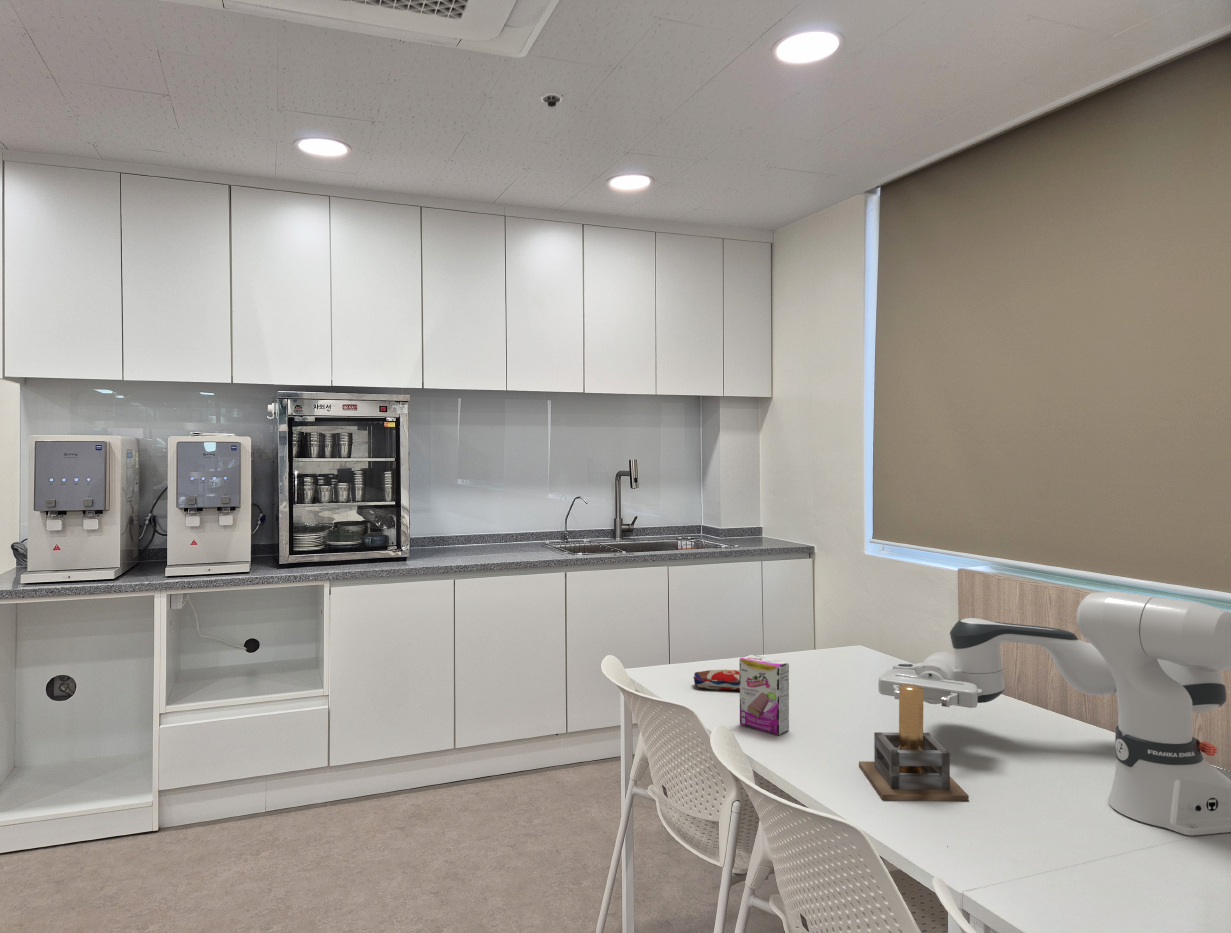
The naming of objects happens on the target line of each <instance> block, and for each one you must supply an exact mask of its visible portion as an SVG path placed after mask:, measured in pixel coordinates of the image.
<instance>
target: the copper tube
mask: <svg viewBox="0 0 1231 933" xmlns="http://www.w3.org/2000/svg"><path fill="white" fill-rule="evenodd" d="M898 733H899V747H898V750H923V733H924V701H923V687H921V686H919V685H914V684H901V685H899V700H898ZM899 773H923V766H899Z"/></svg>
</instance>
